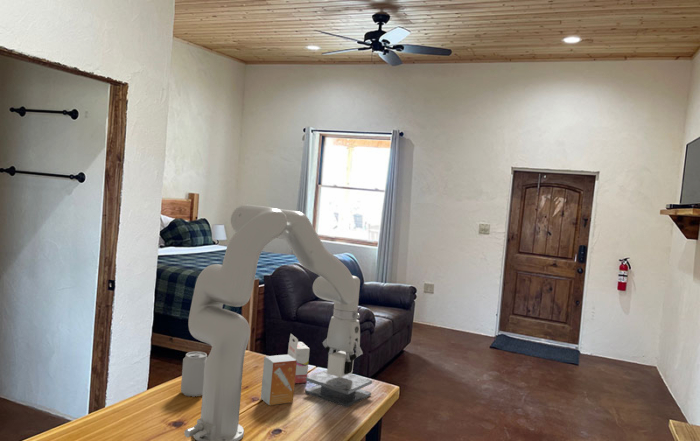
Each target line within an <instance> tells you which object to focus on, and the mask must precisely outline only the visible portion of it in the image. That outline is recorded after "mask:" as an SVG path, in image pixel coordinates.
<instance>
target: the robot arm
mask: <svg viewBox="0 0 700 441" xmlns="http://www.w3.org/2000/svg"><path fill="white" fill-rule="evenodd" d="M230 225H231V228H232V229H233V231H234V232H235V233H234V234H233V235H232V237H231V238H230V240H229V241H228V244H227V246H226V250H225V254H224V257H223V260H222V264H219V263H214V264H210V265H207V266H206V267H204V269H202V270H201V272H200V273H199V275H198V277H197V278H196V282H195V286H194V290H193V295H192V300H191V304H190V310H189V315H188V322H187V323H188V324H187V325H188V331H189V333H190V335H191V336H192V337H193V338H194V339H195V340H198V341H200V342H202V343H205V344H207V345H209V346H211V350H210V351H209V354H207V359H206V362H205V368H204V381H203V394H202V395H201V406H200V407H201V408H200V418H198V419H196V424H195V425H194V426H192V427H189V428H186V429H184V432H183V433H184V436H185V438H190V437H191V438H192V437H193V438H194V440H196V441H240V440H242V438H243V437H244V436H245V430H244V429H245V428H244V427H243V426H242V425H241V424H239V422H240V412H241V409H240V408H241V397H242V384H243V373H244V364H245V363H244V361H245V357H246V356H245V355H246V350H247V346H248V343H249V340H250V335H251V328H250V324H249V322H248V320H247V319H246V318H245V317H244V316H243V315H242V314H239V313H237V312H235V311H231V310H230V309H227V308H226V309H225V308H223V307H224V305H226V306H230V307H235V308H238V307H239V308H240V307H243V306H245V305H247V303H248V302H249V301H250V299H251V296H252V292H253V289H254V283H255V277H256V274H257V269H258V268H257V267H258V263H259V259H260V256H261V254H262V252H263V250H264V249H265V248H266V246H267V245H269V244H270V243H272V241H273V240H275V239H280V240H284V241H285V242H286V243H287V245H288V246H289V248H290V249H291V252H293V254H294V255H295V256H294V257H296V259H297V261H298V263H299V264H300V265H301V266H302V267H304V268H305V269H307V270H308V271H309V272H312V273H314V274H316V275H318V276H317V277H316V278H315V280H314V281H313V282H312V283H313V284H312V292H313V294H314V295H315V296H316V297H317V298H319V299H321V300H325V301H327V302H332V303H334V304H333V314H332V316H331V318H330V320H329V325H328V329H327V330H328V331H327V337H326V338H325V339H324V340H323V342H321V343H322V345H323V347H324V348H325V351H326V352H327V355H328V357H329V354H332V353H335V352H338V351H344V352H346V357H347V361H346V362H345V369H344V373H345V374H348V373H350V374H352V373H351V371H352V365H353V366H354V362H353V360H354V361H355V360H356V359H357V358H358V357H360V356H361V355H363V354H364V353H363V350H362V347H361V346H360V345H361V326H360V320H359V319H360V318H361V314H360V313H358V312H359V310H358V309H359V308H358V307H359V298H360V297H359V296H360V289H361V287H360V286H361V279H360V278H359V277H358V276H356V275H352V273H351V271H350V270H349V268H348V267H347V266H346V265H345V264H344V263H343V262H342V261H341V260H340V259H338V257H336V256H335V255H334V254H333V253H332V252H330V251H329V249H327V248H326V247H325V246H324V244H323V241H321V239H320V236H319V235H318V233H317V232H316V230H315V228H314V226H313V224H312V223H311V220H310V219H309V218H308V216H307V215H306V214H305V213H303V212H302V211H298V210H293V209H282V208H275V207H270V206H263V205H253V204H242V205H239V206H237V207H236V208H234V210H233V211H232V213H231V217H230ZM354 351H355V352H354Z"/></svg>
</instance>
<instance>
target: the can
mask: <svg viewBox="0 0 700 441" xmlns="http://www.w3.org/2000/svg"><path fill="white" fill-rule="evenodd" d="M207 357H208V354H207V353H206V352H203V351H189V352H187V353H185V357H184V358H183V359H182V368H181V369H182V370H181V384H180V392H181V393H182V394H183V395H184V396H186V397H190V396H192V398H196V397H200V396H201V397H202V394H203V381H204V368H205V362H206V359H207ZM195 396H196V397H195Z"/></svg>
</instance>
